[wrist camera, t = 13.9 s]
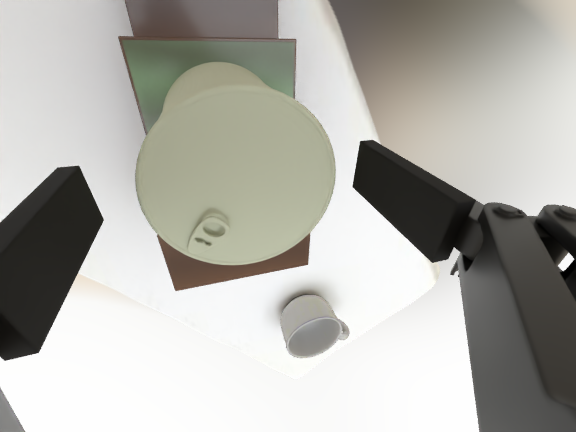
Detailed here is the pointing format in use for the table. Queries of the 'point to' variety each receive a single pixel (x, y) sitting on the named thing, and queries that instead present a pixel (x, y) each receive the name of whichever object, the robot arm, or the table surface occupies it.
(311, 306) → the teacup
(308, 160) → the can
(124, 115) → the table surface
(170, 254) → the shelf riser
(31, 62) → the table surface
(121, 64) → the table surface
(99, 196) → the table surface
